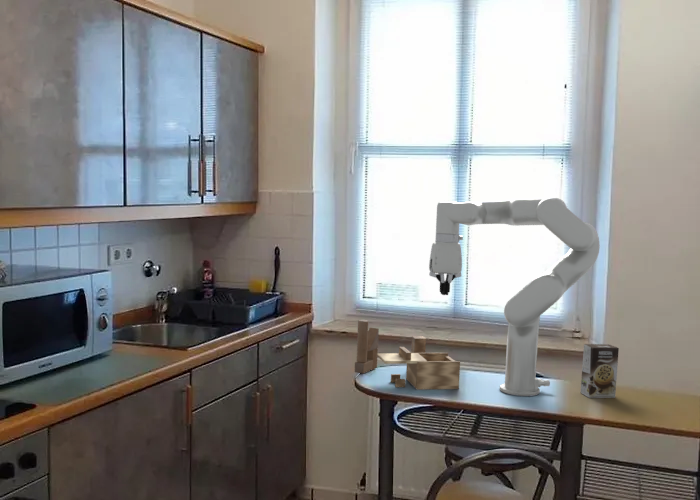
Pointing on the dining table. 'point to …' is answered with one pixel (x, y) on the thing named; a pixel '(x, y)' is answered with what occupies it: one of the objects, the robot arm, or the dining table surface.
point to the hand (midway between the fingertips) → (444, 294)
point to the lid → (400, 357)
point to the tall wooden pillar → (418, 344)
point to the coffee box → (599, 370)
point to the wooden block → (366, 347)
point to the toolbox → (431, 373)
